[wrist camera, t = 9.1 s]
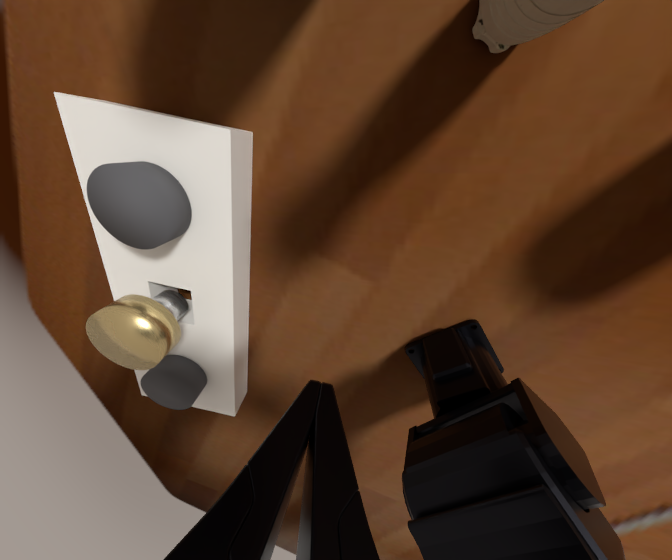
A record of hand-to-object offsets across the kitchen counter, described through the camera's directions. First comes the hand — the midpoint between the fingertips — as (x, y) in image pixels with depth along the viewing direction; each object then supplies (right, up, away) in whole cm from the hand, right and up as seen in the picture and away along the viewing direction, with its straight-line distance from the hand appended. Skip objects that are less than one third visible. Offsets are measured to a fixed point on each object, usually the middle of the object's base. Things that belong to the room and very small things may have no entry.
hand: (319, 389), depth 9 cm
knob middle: (-12, +2, +11) cm, 17 cm away
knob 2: (-14, -4, +17) cm, 22 cm away
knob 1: (-11, +10, +9) cm, 17 cm away
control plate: (-12, +3, +13) cm, 18 cm away
